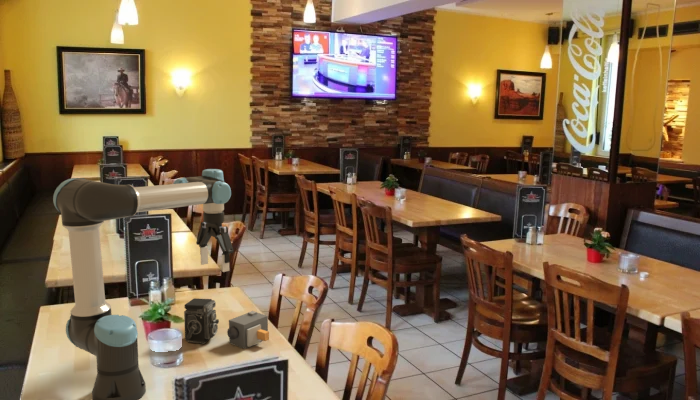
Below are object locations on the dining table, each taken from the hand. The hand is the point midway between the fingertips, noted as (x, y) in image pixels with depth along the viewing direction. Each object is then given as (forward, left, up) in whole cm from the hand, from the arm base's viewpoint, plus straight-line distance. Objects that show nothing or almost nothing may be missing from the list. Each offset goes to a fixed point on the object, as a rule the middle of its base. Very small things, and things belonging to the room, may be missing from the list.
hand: (214, 267), depth 221 cm
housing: (+5, -13, -27) cm, 30 cm away
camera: (-5, +1, -27) cm, 28 cm away
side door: (+3, -19, -26) cm, 33 cm away
